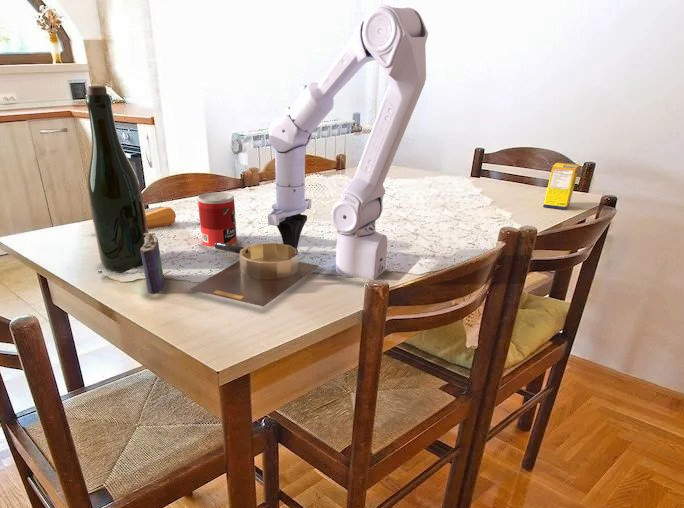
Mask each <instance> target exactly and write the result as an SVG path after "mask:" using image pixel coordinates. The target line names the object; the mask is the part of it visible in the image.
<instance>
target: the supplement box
mask: <svg viewBox="0 0 684 508" xmlns="http://www.w3.org/2000/svg"><path fill="white" fill-rule="evenodd" d="M579 169H580V163H570V162H569V163H567V162H556V163H555V164H553V165H552V167H551V172H550V176H549V180H548V184H547V188H546V193H545V196H544V201H543V208H551V209H559V210H565V211H566V210H567V209H568V207H569V206H570V203H571V200H572V196H573V192H574V188H575V184H576V180H577V177H578V173H579Z"/></svg>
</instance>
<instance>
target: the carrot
mask: <svg viewBox="0 0 684 508" xmlns="http://www.w3.org/2000/svg"><path fill="white" fill-rule="evenodd" d="M145 214H146V219H147V225H148V229H150V228H158V227H165V226H171V225H172V224H174V223H175V222H176V218H177V214H176V212H175V210H173V208H172V207H171V206H163V207H161V208H157V209H155V210H152V211H150V212H147V213H145Z"/></svg>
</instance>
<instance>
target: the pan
mask: <svg viewBox="0 0 684 508" xmlns="http://www.w3.org/2000/svg"><path fill="white" fill-rule="evenodd" d="M214 248H215V250H219V251H224V252H229V253H233V254H234V253H235V254H239V261H240V270H241V272H242V273H243V274H244V275H245V276H247V277H250V278H254V279H260V280H276V279H282V278H286V277H289V276H292V275H294V274H295V273H296V272H297V271H298V262H299V249H298V248H297V249H296V248H294V247H293V246H291V245H287V244H283V243H280V242H260V243H254V244H249V245H247V246H245V247H244V246H239V245H236V244H233V245H229V244H224V243H216V244H215V247H214Z"/></svg>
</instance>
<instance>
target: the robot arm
mask: <svg viewBox="0 0 684 508" xmlns="http://www.w3.org/2000/svg"><path fill="white" fill-rule="evenodd" d="M428 37H429V32H428V29H427V26H426V25H425V23H424V20H423V18H422V16H421V14H420V12H418V11H417V10H416V9H415V8H412V7H408V6H407V7H406V6H405V7H402V8H401V7H392V6H391V5H385V4H382V5H378V6H375V7H374V8H373V9H372V10H370V12H369V13H368V14H367V15H366V17H365V19H364V20H363V21H361V22H360V23H359V24H358V25H357V26H356V28H355V30H354V32H353V35H352V36H351V38H350V39H349V41H348V42H347V44H346V45H345V46H344V48H343V49H342V51H341V52H340V53H339V55H337V57H336V59H335V60H334V61H333V63H332V64H331V66H330V67H329V68H328V69H327V71H326V72H325V74H324V75H323V77H322V78H321V80H320V81H319V82H309V84H306V85H303V86H302V87H301V88H300V89H299V92H300V94H299V96H298V97H297V98H296V100H295V101H294V102H293V104H292V105H291V106H288V107H287V108H286V109H285V110H284V112H285V113H284V116H279V117H275V118H274V119H273V120H272V122H271V124H270V126H269V128H268V140H269V143H270V145H271V146H272V148H273V149H274V159H275V160H274V161H275V163H274V164H275V198H276V199H275V200H276V202H275V203H273V204H271V209H272V210H271V212H270V213H268V214H267V225H269V226H275V227H276V228H277V229H278V231H279V234H280V236H281V241H282V244H287V245H291V246H293V247H294V248H296V249H298V247H299V242H300V237H301V234H302V231H303V229H304V226H305V225H306V223H307V221H308V215H306V214H303V213H305V212H306V210H310V209H312V198H306V197H305V196H306V155H307V147H308V145H309V144H310V142H311V139H312V136H313V135H312V134H313V132H314V131H315V130H316V129H317V128H318V126H319V125H320V124H321V123H322V122H323V120H324V119H325V118H326V117H327V116H329V114H330V113H331V111H332V110H333V109H334V103H335V102H334V101H335V100H334V97H336V95H337V94H338V93H339V92H340V91H341V90H342V89H343V88H344V86H345V85H346V84H347V83H348V82H349V81H350V80H352V78H353V77H354V76H355V75H356V74H357V73H358V72H359V71H360V70H361V69H362V68H363V66H365V64H367V63H369V62H373V61H376V62H377V63H378V64H379V66H380V67H381V68H382V70H383V73H384V75H385V78H386V80H387V83H388V86H387V88H386V91H385V94H384V97H383V99H382V101H381V104H380V107H379V110H378V112H377V115H376V118H375V121H374V123H373V126H372V129H371V131H370V134H369V136H368V139H367V142H366V144H365V147H364V150H363V153H362V155H361V158H360V161H359V163H358V166H357V168H356V171H355V174H354V176H353V178H352V179H351V180H350V182H349V183H348V184H347V185H346V187H345V188H344V189H343V191H342V194H341V196H340V198H339V199H338V200H337V201H336V202H334V204H333V206H332V207H331V211H330V220H331V223H332V225H333V228H335V229H336V246H335V247H336V248H335V251H336V252H335V272H336V273H337V274H338V275H341V276H344V277H350V278H360V279H366V280H371V281H373V280H372V279H375V280H376V279H377V278H378V277H379V276H381V275H382V274H383V273H384V272H386V266H387V265H386V264H387V253H388V237H387V235H386V234H383V233H380V232H378V231H376V221H377V220H379V218H380V217H381V215H382V214H383V208H384V207H383V200H384V196H385V193H386V189H385V186H384V183H385V180H386V178H387V175H388V173H389V170H390V169H391V166H392V163H393V161H394V159H395V156H396V154H397V151H398V149H399V146H400V144H401V142H402V139H403V137H404V134H405V132H406V130H407V127H408V125H409V122H410V121H411V119H412V115H413V113H414V110H415V108H416V106H417V103H418V101H419V98H420V96H421V93H422V91H423V89H424V86H425V84H426V80H427V58H426V57H427V55H426V54H427V53H426V43H427V40H428Z"/></svg>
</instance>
